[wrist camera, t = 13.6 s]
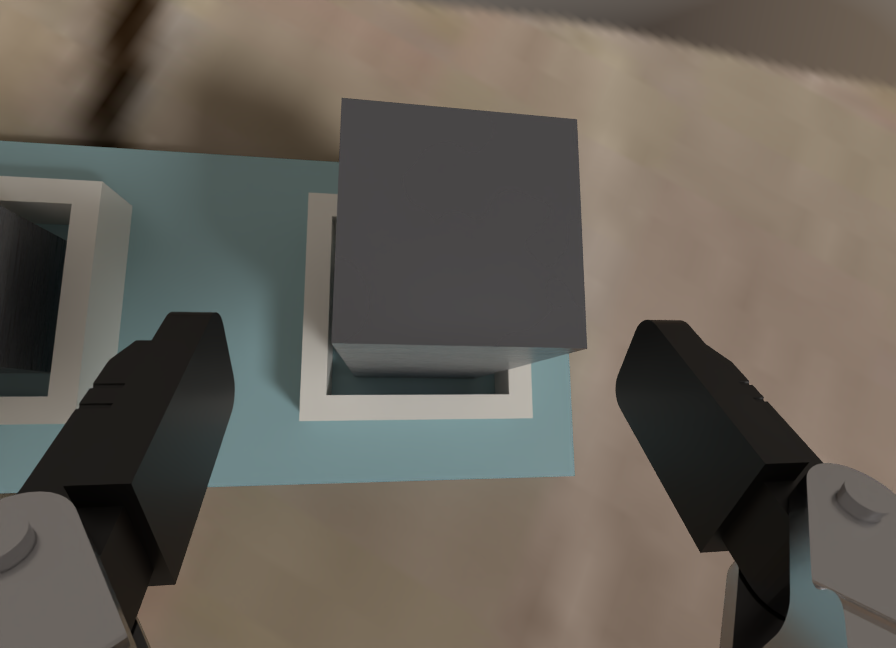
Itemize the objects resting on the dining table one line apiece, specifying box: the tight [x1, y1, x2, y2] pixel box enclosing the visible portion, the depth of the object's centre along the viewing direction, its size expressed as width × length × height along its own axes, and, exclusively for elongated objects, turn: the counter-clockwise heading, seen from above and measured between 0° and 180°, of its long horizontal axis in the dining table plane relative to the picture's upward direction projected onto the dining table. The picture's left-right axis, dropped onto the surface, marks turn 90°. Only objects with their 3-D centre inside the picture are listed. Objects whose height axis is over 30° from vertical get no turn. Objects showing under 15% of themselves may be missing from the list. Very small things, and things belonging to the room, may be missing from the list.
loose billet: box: [331, 98, 587, 379], centre depth 14 cm, size 4×5×10 cm
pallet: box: [0, 141, 575, 493], centre depth 17 cm, size 26×12×4 cm, turn 91°
